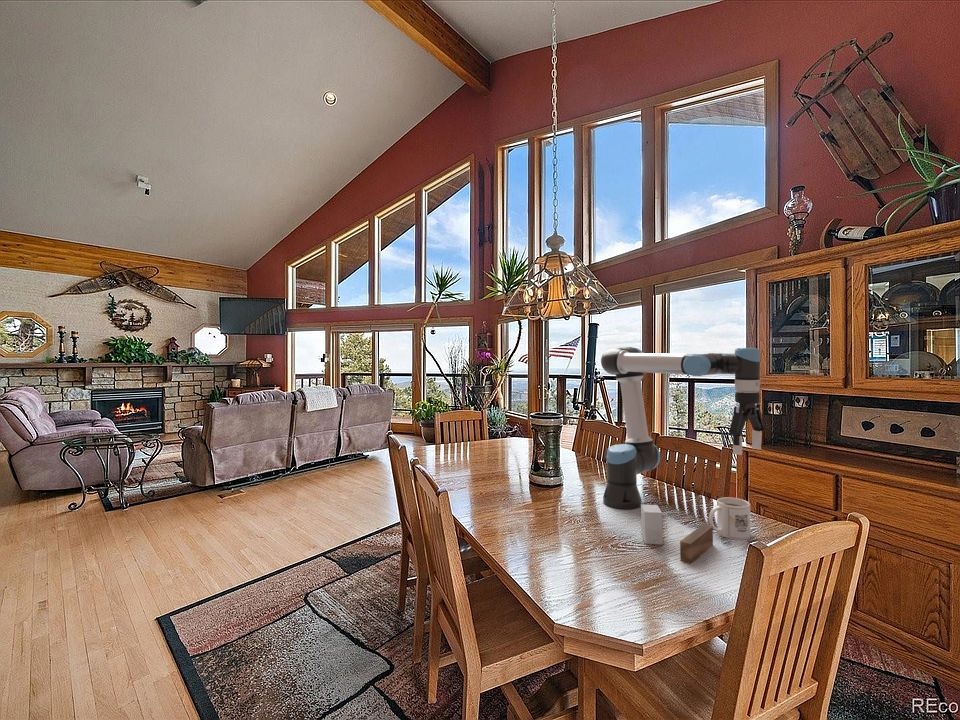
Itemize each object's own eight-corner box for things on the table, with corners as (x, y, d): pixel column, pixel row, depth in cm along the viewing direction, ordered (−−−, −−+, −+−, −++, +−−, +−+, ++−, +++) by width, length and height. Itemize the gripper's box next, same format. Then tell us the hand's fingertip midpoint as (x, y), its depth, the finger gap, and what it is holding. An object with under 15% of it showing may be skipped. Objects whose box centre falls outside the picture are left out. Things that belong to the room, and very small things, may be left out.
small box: (663, 545, 145) (662, 512, 145) (645, 544, 146) (644, 512, 146) (658, 535, 153) (658, 504, 153) (641, 534, 154) (640, 503, 154)
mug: (750, 543, 145) (749, 509, 145) (708, 536, 151) (708, 503, 151) (750, 531, 154) (750, 499, 154) (711, 525, 160) (711, 494, 160)
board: (680, 561, 134) (680, 541, 134) (703, 542, 146) (702, 524, 146) (690, 564, 132) (690, 544, 132) (713, 545, 144) (712, 526, 144)
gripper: (740, 395, 148) (740, 459, 149) (775, 389, 162) (775, 448, 163) (717, 393, 154) (717, 454, 155) (753, 388, 168) (753, 444, 169)
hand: (747, 451), depth 159 cm, fingers open, 13 cm apart
